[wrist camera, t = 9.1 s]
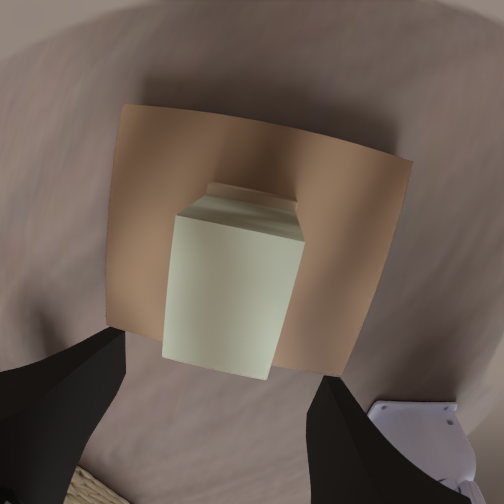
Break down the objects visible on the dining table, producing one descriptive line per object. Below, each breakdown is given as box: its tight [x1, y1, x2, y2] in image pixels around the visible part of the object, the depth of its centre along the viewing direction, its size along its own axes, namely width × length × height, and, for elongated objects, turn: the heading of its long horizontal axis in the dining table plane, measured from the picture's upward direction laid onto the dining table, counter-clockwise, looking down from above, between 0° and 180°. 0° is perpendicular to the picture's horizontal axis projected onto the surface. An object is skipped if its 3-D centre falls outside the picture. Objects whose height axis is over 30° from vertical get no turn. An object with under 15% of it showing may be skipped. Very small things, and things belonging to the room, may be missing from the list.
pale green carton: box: [162, 182, 305, 380], centre depth 14 cm, size 4×7×6 cm, turn 169°
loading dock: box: [106, 104, 413, 376], centre depth 19 cm, size 16×14×2 cm
